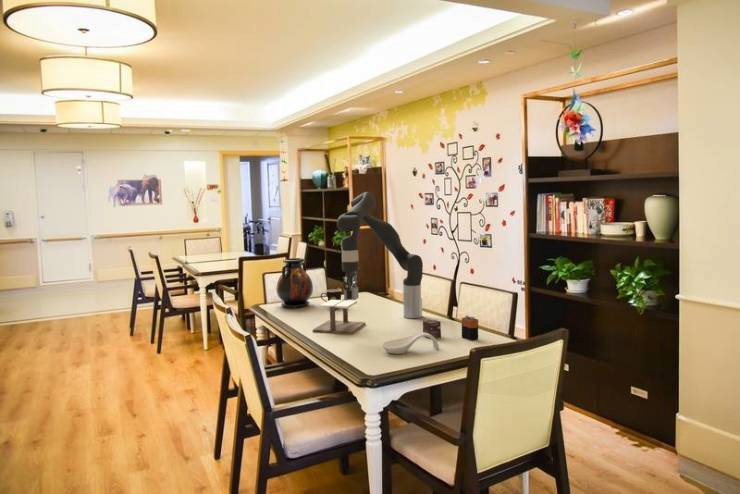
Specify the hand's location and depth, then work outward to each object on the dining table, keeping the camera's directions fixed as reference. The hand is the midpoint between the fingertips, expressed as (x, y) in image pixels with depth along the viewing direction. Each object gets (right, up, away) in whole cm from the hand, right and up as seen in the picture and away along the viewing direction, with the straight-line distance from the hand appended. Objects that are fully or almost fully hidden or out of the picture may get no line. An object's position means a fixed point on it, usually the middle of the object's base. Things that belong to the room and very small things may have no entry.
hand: (351, 297), depth 246 cm
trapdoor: (-7, -5, +22) cm, 23 cm away
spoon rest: (+25, -21, -18) cm, 37 cm away
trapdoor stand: (-7, -17, +23) cm, 29 cm away
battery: (+53, -18, -2) cm, 56 cm away
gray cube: (0, -1, 0) cm, 0 cm away
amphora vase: (-36, -13, +80) cm, 88 cm away
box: (+36, -18, +3) cm, 41 cm away
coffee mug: (-13, -13, +73) cm, 75 cm away
